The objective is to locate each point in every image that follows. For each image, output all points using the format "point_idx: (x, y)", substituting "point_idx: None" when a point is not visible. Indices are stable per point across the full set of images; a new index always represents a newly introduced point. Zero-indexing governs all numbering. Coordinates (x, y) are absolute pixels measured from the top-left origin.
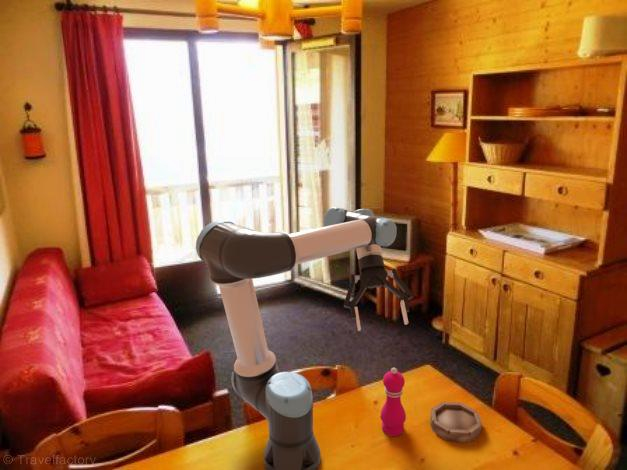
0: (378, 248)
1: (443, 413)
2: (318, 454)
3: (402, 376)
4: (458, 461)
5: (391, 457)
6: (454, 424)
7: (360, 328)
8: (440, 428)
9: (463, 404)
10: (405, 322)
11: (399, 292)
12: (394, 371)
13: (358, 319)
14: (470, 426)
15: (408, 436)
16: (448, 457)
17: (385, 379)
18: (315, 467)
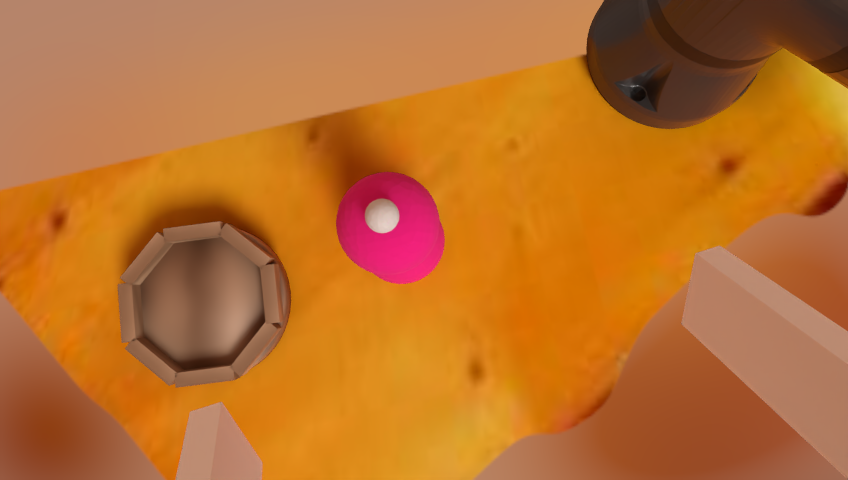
0: None
1: (241, 329)
2: (600, 36)
3: (342, 221)
4: (216, 150)
5: (397, 124)
6: (209, 279)
7: (701, 254)
8: (252, 241)
9: (166, 378)
10: (228, 417)
11: None
12: (377, 199)
13: (794, 314)
14: (160, 280)
15: None
16: (242, 160)
17: (425, 192)
18: (594, 18)
